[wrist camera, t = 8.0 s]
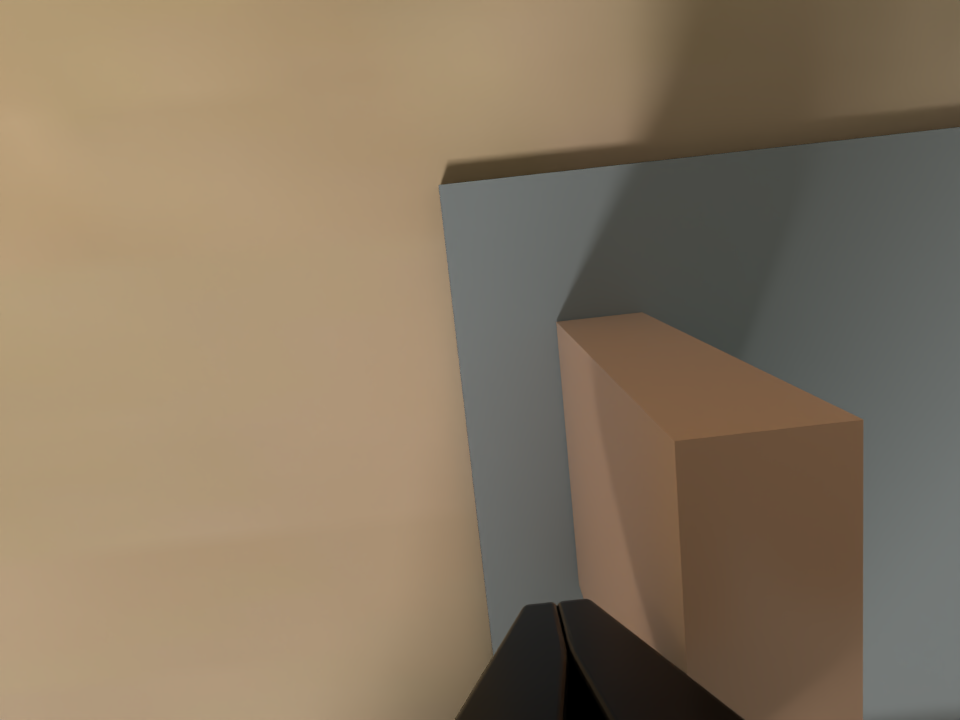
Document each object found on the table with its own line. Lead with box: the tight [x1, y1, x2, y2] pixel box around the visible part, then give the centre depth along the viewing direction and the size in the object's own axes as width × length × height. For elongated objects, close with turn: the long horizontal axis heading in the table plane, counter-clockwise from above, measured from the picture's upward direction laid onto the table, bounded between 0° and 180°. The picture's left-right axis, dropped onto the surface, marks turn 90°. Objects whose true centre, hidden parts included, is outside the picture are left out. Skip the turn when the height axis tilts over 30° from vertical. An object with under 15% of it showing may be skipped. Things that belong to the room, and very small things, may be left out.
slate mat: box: [439, 127, 960, 720], centre depth 16 cm, size 24×16×1 cm, turn 6°
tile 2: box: [556, 312, 863, 720], centre depth 11 cm, size 6×2×8 cm, turn 6°
